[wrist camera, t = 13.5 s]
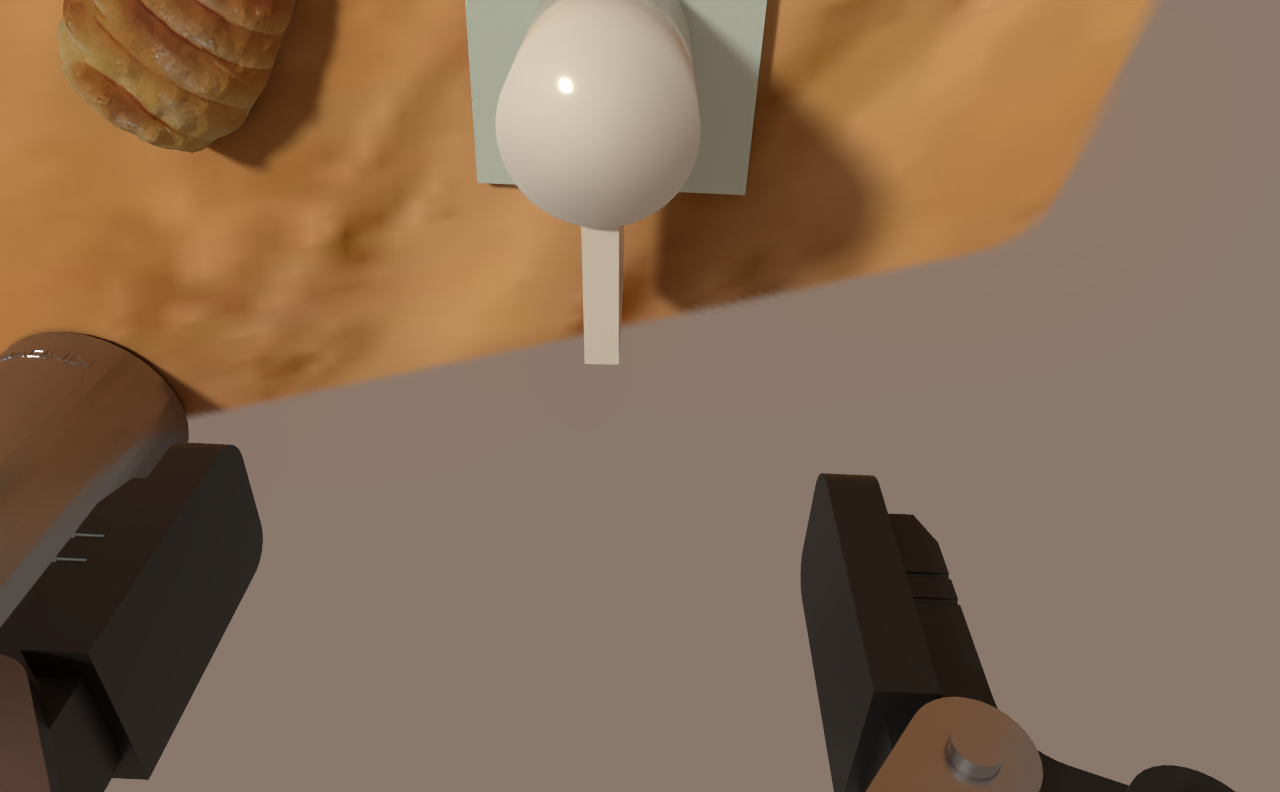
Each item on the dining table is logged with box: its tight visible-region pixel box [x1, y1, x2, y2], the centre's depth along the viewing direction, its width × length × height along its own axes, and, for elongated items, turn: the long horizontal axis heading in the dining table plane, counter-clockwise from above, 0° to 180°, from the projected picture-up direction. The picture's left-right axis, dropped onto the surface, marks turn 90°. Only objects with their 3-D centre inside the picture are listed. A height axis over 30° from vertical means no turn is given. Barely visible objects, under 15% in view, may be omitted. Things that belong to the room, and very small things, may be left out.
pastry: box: [58, 0, 296, 153], centre depth 32 cm, size 9×7×4 cm
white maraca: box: [496, 0, 701, 364], centre depth 31 cm, size 12×6×9 cm, turn 179°
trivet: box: [465, 0, 767, 195], centre depth 34 cm, size 11×11×1 cm
